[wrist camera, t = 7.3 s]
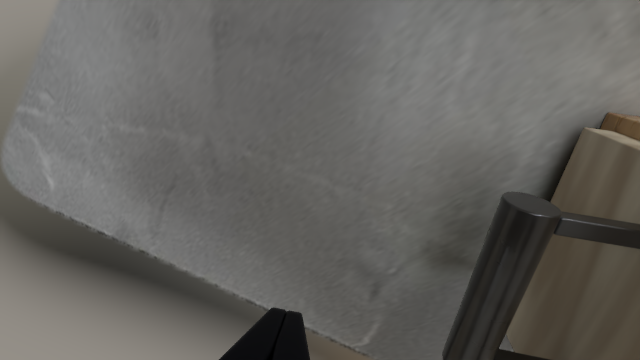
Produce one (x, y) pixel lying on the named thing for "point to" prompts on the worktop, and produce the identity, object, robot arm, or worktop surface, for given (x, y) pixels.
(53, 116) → the worktop surface
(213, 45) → the worktop surface
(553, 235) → the drawer
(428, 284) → the worktop surface
